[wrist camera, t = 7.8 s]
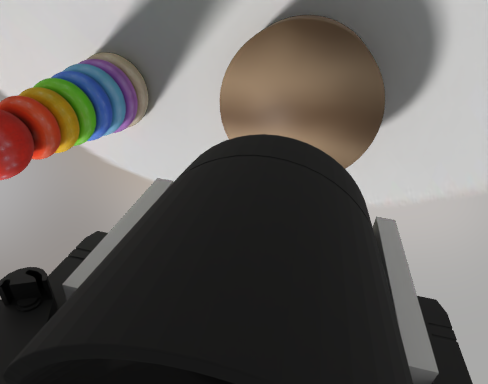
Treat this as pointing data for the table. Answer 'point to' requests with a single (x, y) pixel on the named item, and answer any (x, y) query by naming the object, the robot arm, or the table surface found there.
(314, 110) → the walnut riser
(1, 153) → the stacking toy
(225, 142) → the pen holder
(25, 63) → the table surface
